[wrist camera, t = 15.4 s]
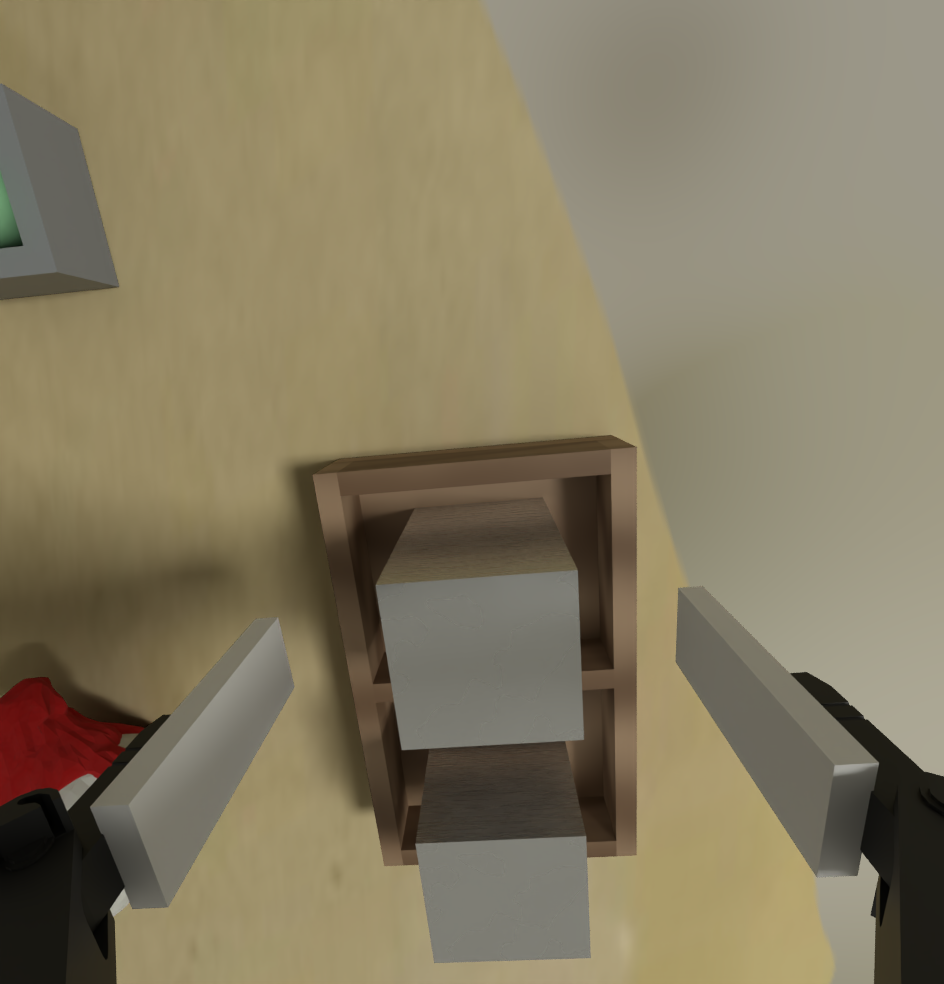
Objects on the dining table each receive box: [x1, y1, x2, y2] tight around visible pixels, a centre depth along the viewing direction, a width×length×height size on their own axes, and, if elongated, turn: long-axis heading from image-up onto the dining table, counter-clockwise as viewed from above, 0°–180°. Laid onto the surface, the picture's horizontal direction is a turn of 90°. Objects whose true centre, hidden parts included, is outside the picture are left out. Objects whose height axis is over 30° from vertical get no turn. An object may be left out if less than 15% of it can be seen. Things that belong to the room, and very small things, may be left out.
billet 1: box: [375, 498, 584, 750], centre depth 18 cm, size 6×6×8 cm
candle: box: [0, 677, 144, 917], centre depth 23 cm, size 9×11×15 cm
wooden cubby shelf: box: [313, 435, 637, 866], centre depth 22 cm, size 21×13×4 cm, turn 5°
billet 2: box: [415, 741, 591, 963], centre depth 20 cm, size 6×6×8 cm
